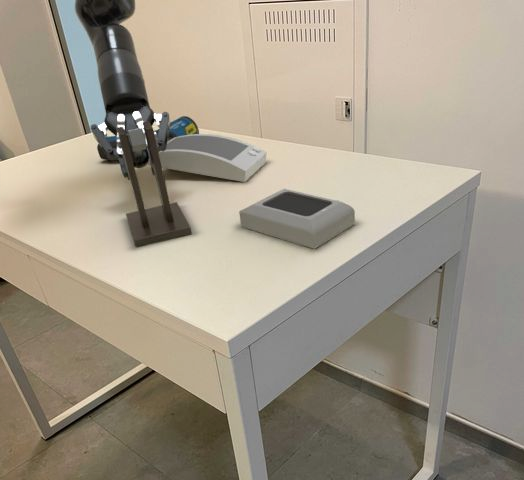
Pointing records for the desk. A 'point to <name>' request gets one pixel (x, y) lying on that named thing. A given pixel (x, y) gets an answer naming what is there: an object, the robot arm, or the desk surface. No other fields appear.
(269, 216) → the grey flat block
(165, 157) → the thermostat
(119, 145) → the latch bracket
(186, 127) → the infrared thermometer
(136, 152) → the latch lever
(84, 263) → the desk surface
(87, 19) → the robot arm
